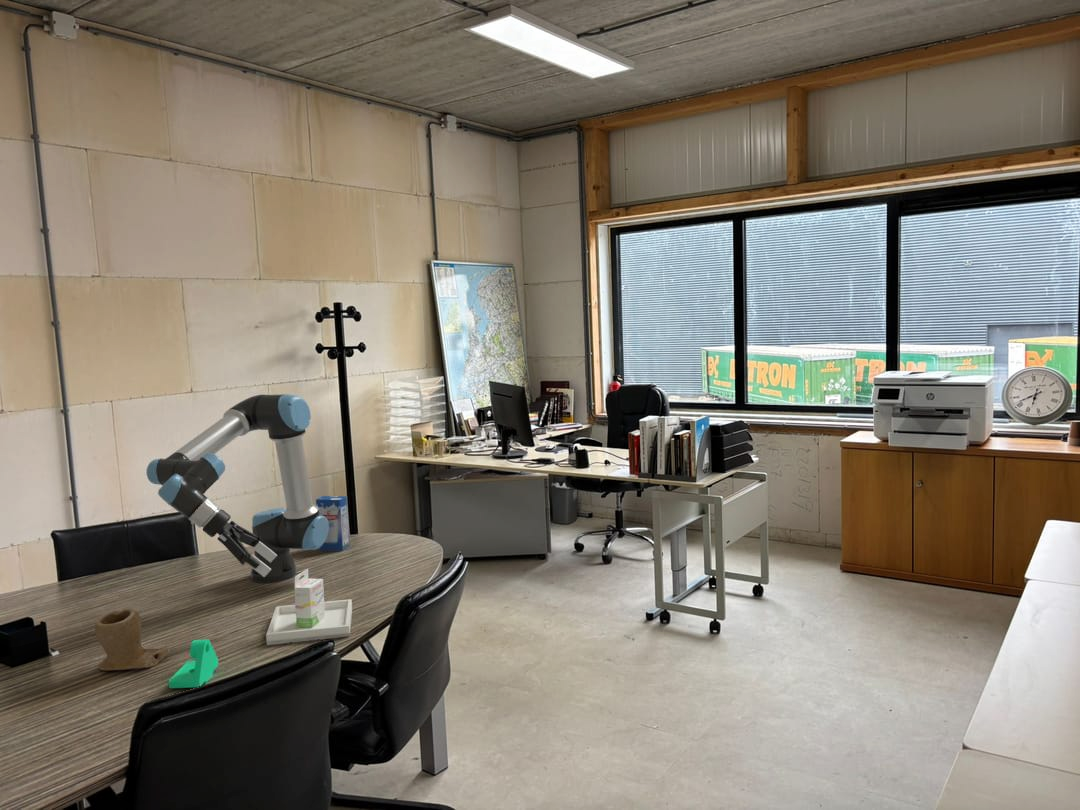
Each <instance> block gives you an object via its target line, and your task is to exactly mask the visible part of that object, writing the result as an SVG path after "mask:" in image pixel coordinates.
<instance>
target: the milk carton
mask: <svg viewBox="0 0 1080 810" xmlns="http://www.w3.org/2000/svg"><path fill="white" fill-rule="evenodd" d="M347 499H348V496H347V495H345V496H344V495H322V496H320V497H317V498H316V499H315V503H316V504H315V505H316V506H317V507H318V509H319V515H322V516H324V517H325V518H327V520H328V524H329V530H328V535H327V537H326V540H325V542H324V543H323V545H322V546H321V547H320V548H318V550H319V551H333V552H334V551H336V552H337V551H339V552H344V550H347V549H348V548H349V547H350V531H349V529H350V528H349V515H348V514H349V513H348V500H347Z"/></svg>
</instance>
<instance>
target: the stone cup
mask: <svg viewBox="0 0 1080 810" xmlns="http://www.w3.org/2000/svg"><path fill="white" fill-rule="evenodd" d="M142 628H143V627H142V620H141V616H140V614H139V613H138V612H137V610H135V609H133V608H124V609H121V610H114V611H110V612H108V613H106V614H104V615H102V616H100V617H99V618H98V619H97V620H96V621H95V623H94V631H95V636H96V638H97V639H98V642H99V644H100V645H101V647H102V648H103V650H104V652H105V654H106V658H104V659H103V660H102V661H101V662H100V663H99V665H98V669H99V670H101V671H121V670H122V671H123V670H124V671H125V670H134V669H135V670H136V669H143V668H144V669H145V668H146V669H147V668H151V667H154V666H157V664H159V663H161V662H162V661H163V660H164V659H165V658H166V657H167V655H168V654H169V652H170V649H169V648H167V647H164V648H162V647H161V648H144V647H143V646H142V632H143V631H142Z"/></svg>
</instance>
